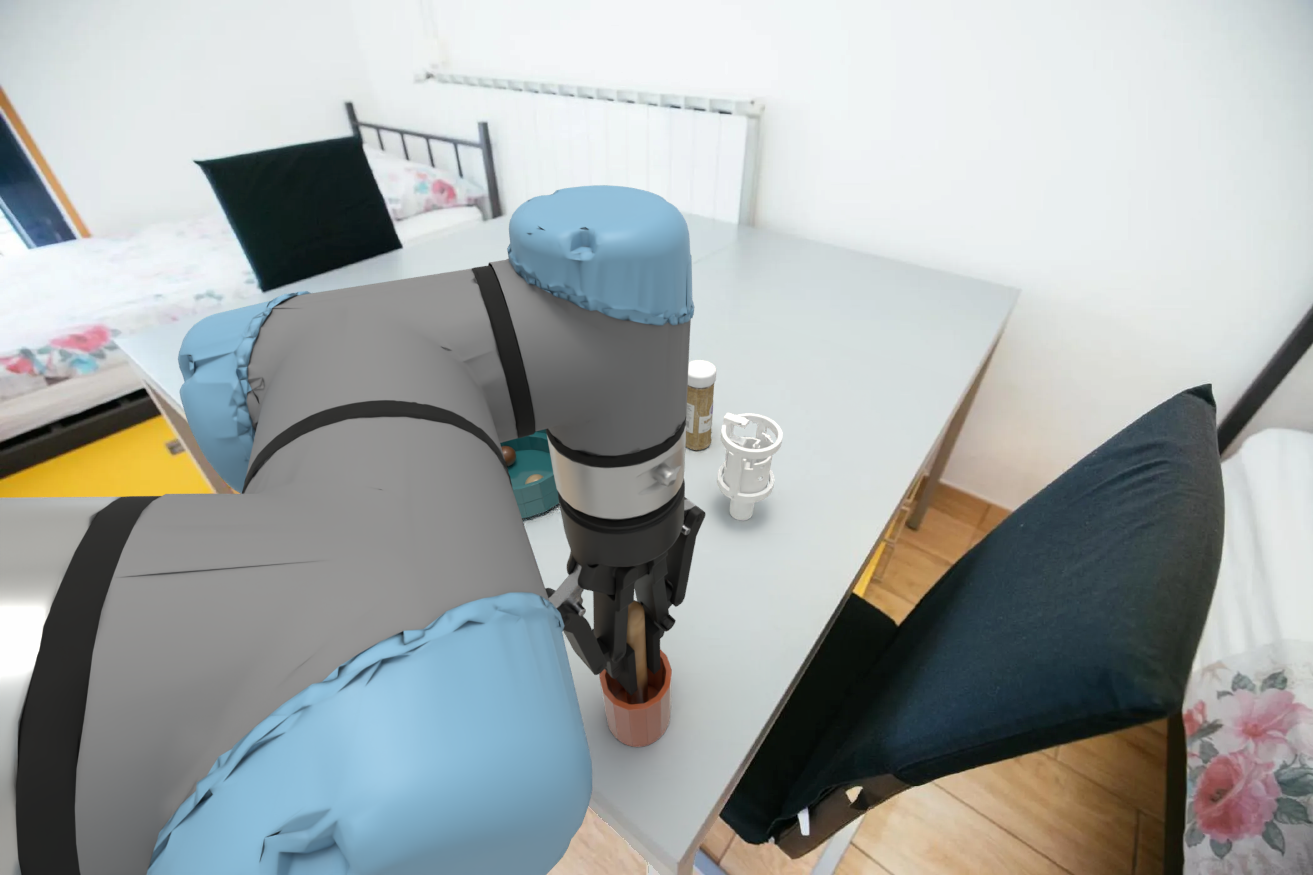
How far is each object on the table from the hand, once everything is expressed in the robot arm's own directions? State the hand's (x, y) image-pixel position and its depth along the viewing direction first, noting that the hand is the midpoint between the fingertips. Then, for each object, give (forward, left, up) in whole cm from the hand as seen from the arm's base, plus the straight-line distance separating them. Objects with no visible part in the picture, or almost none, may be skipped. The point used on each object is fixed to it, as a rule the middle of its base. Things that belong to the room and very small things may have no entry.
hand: (635, 670), depth 47 cm
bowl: (+9, +35, -8) cm, 37 cm away
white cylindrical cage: (+27, +10, -9) cm, 30 cm away
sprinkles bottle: (+33, +24, -9) cm, 42 cm away
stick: (0, 0, -8) cm, 8 cm away
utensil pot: (0, 0, -8) cm, 8 cm away
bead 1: (+9, +39, -6) cm, 41 cm away
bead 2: (+9, +31, -6) cm, 33 cm away
